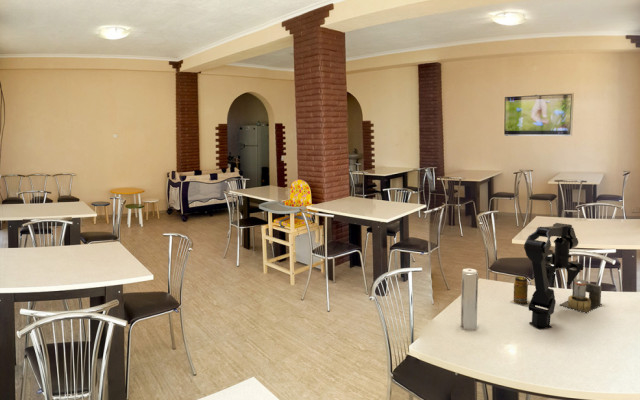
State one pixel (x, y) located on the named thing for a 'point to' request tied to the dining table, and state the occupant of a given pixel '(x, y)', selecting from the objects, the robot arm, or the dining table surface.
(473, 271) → the silver cylinder
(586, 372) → the dining table surface
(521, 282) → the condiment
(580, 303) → the collar stand
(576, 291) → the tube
